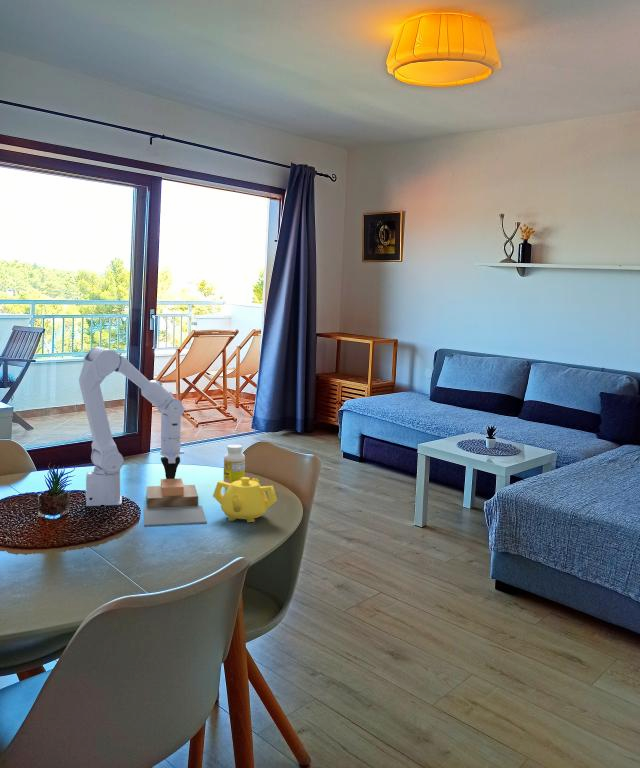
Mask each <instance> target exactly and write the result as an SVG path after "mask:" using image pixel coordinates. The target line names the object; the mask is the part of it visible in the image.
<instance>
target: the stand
mask: <svg viewBox="0 0 640 768" xmlns="http://www.w3.org/2000/svg"><path fill="white" fill-rule="evenodd" d="M183 486H184V495H181V496H162V493H161V485H150V486H149V485H148V486H146V508H158V507H182V506H199V494H198V491H197V488H196V485H195V484H183Z"/></svg>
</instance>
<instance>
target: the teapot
mask: <svg viewBox="0 0 640 768" xmlns="http://www.w3.org/2000/svg"><path fill="white" fill-rule="evenodd" d="M259 482H260V480H259V478H256V477H252V479H251V477H248V476H245V477H242V478H241V480H238V481H234V482H232V483H227V482H224V480H218V482H217V483H216V487H215V489H214V491H213V494H212V497H213V498H214V499H215V500H216V501H217V502H218V503H219V504H220V509H221V511H222V512H223V513H224V515H226V516H227V517H228V518H227V521H228V522H229V521H230V522H234V521H233V520H235V521H236V520H238V519H239V520H246V523H248V522H254V521H255V522H256V519H257V518H260V517H262V516H263V515H264V514H265V513H266V512H267V510H268V509H269V508H270V507H272V505H273V504H275V503H277V501H278V499H277V495H276V490H275V488H274V485H266V486H261V484H260V483H259ZM222 488H225V489H226V490H225V492H224V494H222V490H223V489H222ZM266 492H267V494H266ZM255 522H254V523H255Z"/></svg>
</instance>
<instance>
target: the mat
mask: <svg viewBox="0 0 640 768" xmlns="http://www.w3.org/2000/svg"><path fill="white" fill-rule="evenodd" d="M143 520H144V521H143V522H144V523H143V524H144V527H153V526H154V527H155V526H174V525H194V524H195V525H197V524H207V523H208V521H207V518H206V515H205V511H204V508H203V506H202V505H198V506H182V507H158V508H147V507H144V508H143Z"/></svg>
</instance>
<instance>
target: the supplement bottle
mask: <svg viewBox="0 0 640 768" xmlns="http://www.w3.org/2000/svg"><path fill="white" fill-rule="evenodd" d="M226 449H227V453H225V454H224V457H223V482H227V483H232V482H234V481H238V480H241V478H242V477H246V475H245V474H246V473H245V472H246V471H245V470H246V456H245V454H244V453H243V445H241V444H228V445H227V447H226Z"/></svg>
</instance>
